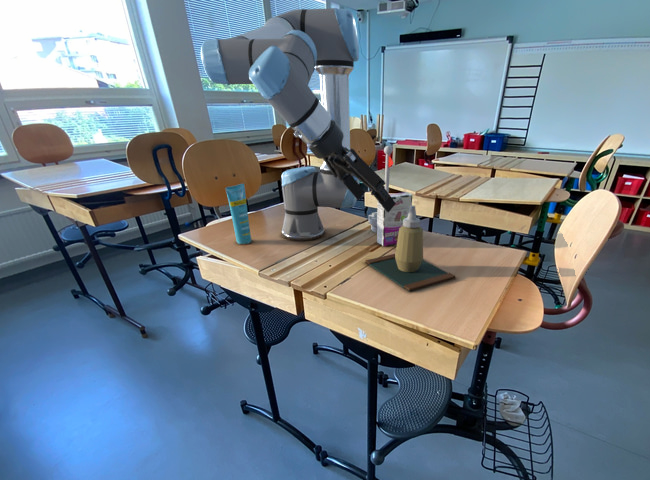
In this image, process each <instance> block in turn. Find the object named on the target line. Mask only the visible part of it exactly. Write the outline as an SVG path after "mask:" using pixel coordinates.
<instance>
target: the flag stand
mask: <svg viewBox="0 0 650 480" xmlns="http://www.w3.org/2000/svg"><path fill="white" fill-rule="evenodd" d="M383 152H384V154H385V166H384V167H385V170H384V181H385V183H386V184H385V185H384V188H385V190H386V191H387V192H388V194H390V168H391V166H393V165H394V161H393V159H392V157H391V155H392V153H393V147H392V146H391V145H386V146H384V148H383ZM368 223H369V224H370V230H371V231H372V232H374V233H375V234H377V211H375V212H374V211H373V212H371V214H368Z"/></svg>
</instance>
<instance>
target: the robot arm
mask: <svg viewBox="0 0 650 480" xmlns="http://www.w3.org/2000/svg"><path fill="white" fill-rule="evenodd" d="M200 59H201V64H202V66H203V70H204V72H205V74H206V76H207V77H208V79H209V80H210V81H211V82H212V83H214V84H217V85H227V86H231V85H254V87H255V88H256V89H257V91H258V92H259V93H260V95H261V97H262V98H263V99H265V100H266V101H267V102H268V103H269V104H270V106H271V107H272V108H273V109H274V110H275V111H276V113H278V114H279V116H280V117H281V118H282V119H283V120H284V121H285V122H286V123H287V125H288V127H290V128H291V129H292V131H293V132H294V133H293V136H294V137H295V138H299V139H301V141H302V142H303V143H305V144H306V147H307V148H308V150H309V151H310V152H311V153H312V154H313V156H314V157H316V158H317V159H319V160H323V163H322V164H321V165H320V166H319V168H320V169H319V170H320V171H317V169H316V167H315V166H302V167H296V168H291V169H286V170H285V171H283V172H282V173H281V188H282V189H281V190H282V198H283V205H284V219H283V223H282V228H281V229H282V230H281V233H282V237H283V238H284V239H287V240H290V241H300V242H302V241H312V240H316V239H320V238H321V237H323V236H324V235H325V229H324V226H323V223H322V220H321V217H320V215H319V210H318V208H340V209H344V208H345V209H346V208H347V209H349V208H353V207H355V205H356V203H357V201H359V200H360V199H361V198H362V197H363V196H364V194H365V193H366V191H365V190H364V189H363V187H362V186H361V185H360V183H362V184H363V185H364V186H365V187H367V188H368V189H369V190H370V191H371V192H370V195H371V196H373V197H374V198H375V199H376V201H377V200H378V202H379V203H380V204H381V205H382V207H383V208H384V209H385V210H386V212H388V213H389V211H390V210H391V209H392V208H393V207H394V205H395V204H396V203H395V202H394V200H393V199H392V198H391V196H390V195H389V194H390V193H389V194H388V192H387V191H386V190H385V184H386V183H385V179H383V178H381V176H379V174H378V173H377V172H376V171H374V169H372V167H371V166H370V165H369V164H368V163H366V162H365V161H364V159H363V158H361V156H359V154H358V153H357V151H356V150H355V149H354V148H351V132H350V131H351V130H350V129H351V128H350V127H351V126H350V74H351V73H352V72H353V71H354V70H355V62H358V61H359V59H360V46H359V37H358V30H357V25H356V20H355V16H354V14H353V12H352V11H351V10H350V9H348V8H337V7H332V8H298V9H293V10H289V11H287V12H284V13H283V12H282V13H281V14H278V15H275V16H273V17H270V18H268V19H267V20H266V22H265V23H264V24H263V26H260V27H257V28H255V29H253V30H252V29H251V30H249V31H247V32H244V33H241V34H239V35H236V36H232V37H229V38H223V39H222V38H215V39H206V40H204V41H203V42H202V44H201V47H200ZM315 71H316V72H317V73H318V75H319V86H320V88H319V89H320V99H319V98H318V97H317V95H315V93H314V92H313V91H312V89H311V88H310V86H309V84H310V82H311V78H312V76H313V74H314V72H315Z"/></svg>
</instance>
